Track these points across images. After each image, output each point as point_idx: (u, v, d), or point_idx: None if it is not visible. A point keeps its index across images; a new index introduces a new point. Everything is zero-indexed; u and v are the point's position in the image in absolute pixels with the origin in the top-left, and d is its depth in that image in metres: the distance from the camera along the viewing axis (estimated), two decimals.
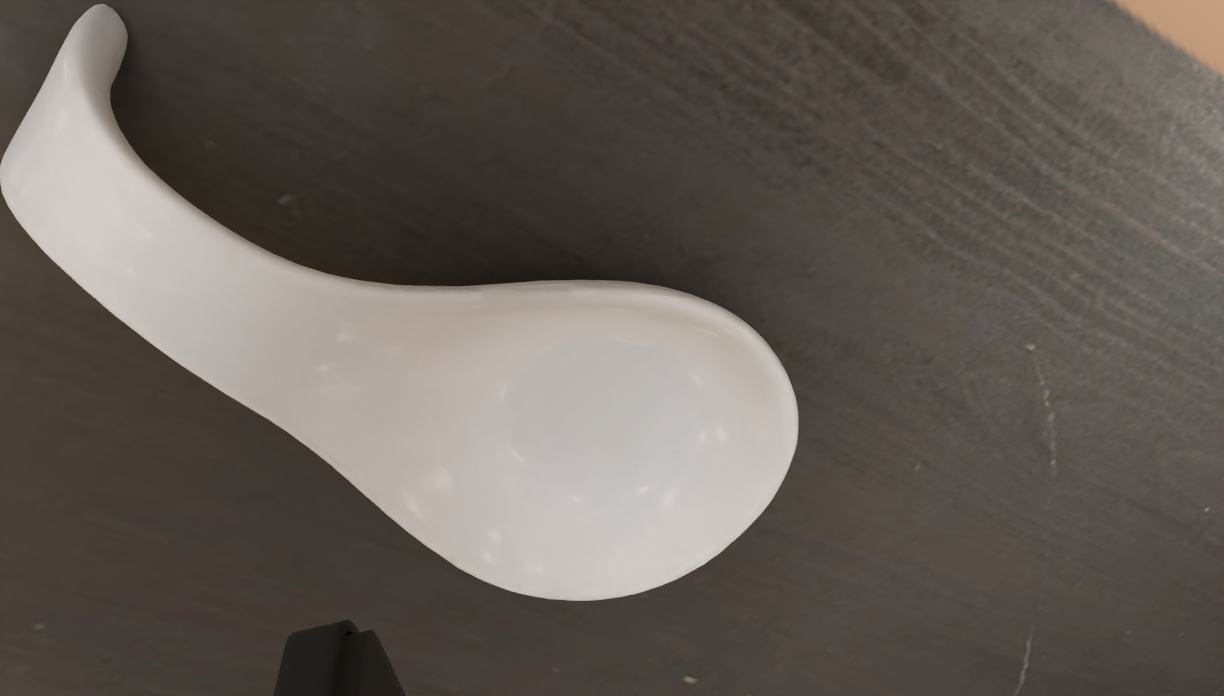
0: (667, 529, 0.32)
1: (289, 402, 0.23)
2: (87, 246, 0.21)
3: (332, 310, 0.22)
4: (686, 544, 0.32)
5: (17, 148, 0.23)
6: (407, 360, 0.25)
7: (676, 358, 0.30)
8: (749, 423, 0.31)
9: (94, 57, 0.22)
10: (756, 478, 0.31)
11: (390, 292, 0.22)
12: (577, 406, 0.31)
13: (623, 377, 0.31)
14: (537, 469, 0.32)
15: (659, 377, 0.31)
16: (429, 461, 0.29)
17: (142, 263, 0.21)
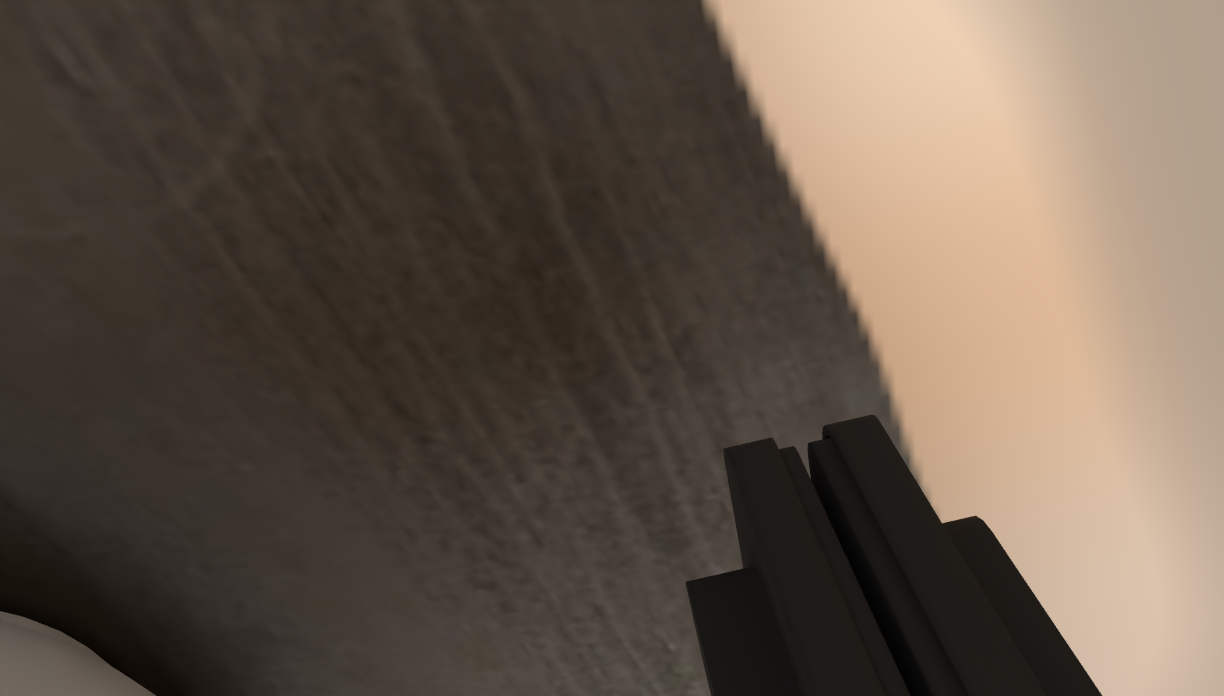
0: None
1: None
2: None
3: None
4: None
5: None
6: None
7: None
8: None
9: None
10: None
11: None
12: None
13: None
14: None
15: None
16: None
17: None
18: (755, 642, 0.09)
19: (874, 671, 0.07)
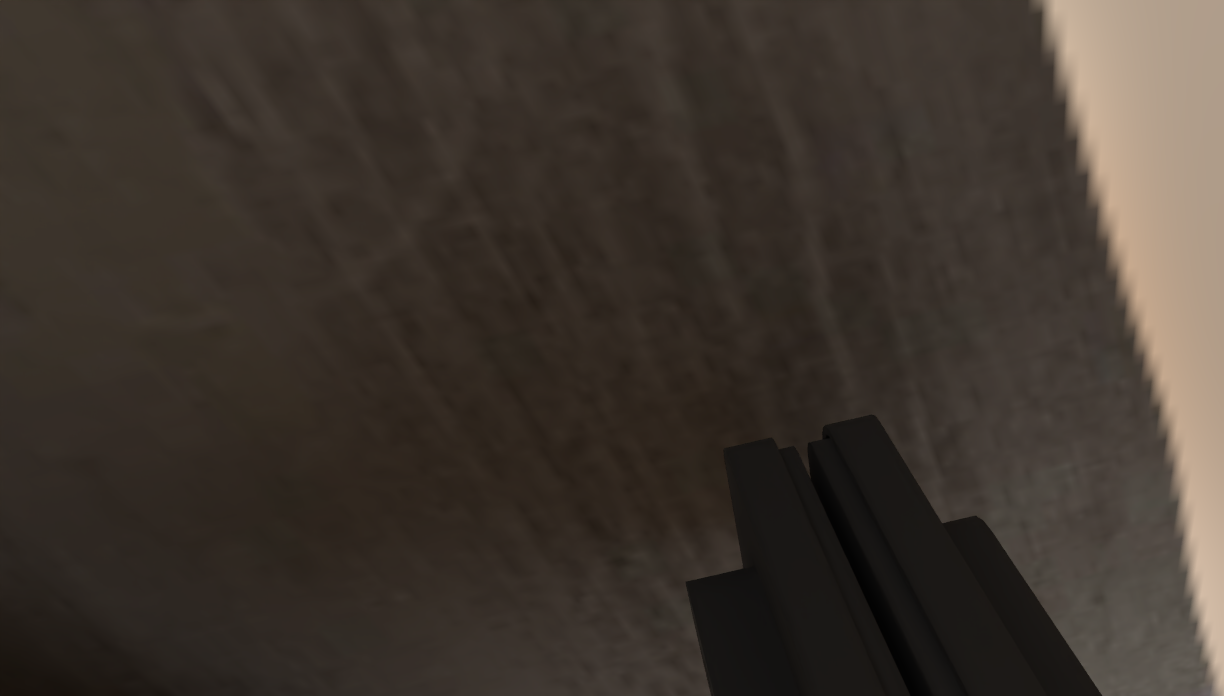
0: None
1: None
2: None
3: None
4: None
5: None
6: None
7: None
8: None
9: None
10: None
11: None
12: None
13: None
14: None
15: None
16: None
17: None
18: (755, 642, 0.09)
19: (873, 670, 0.07)
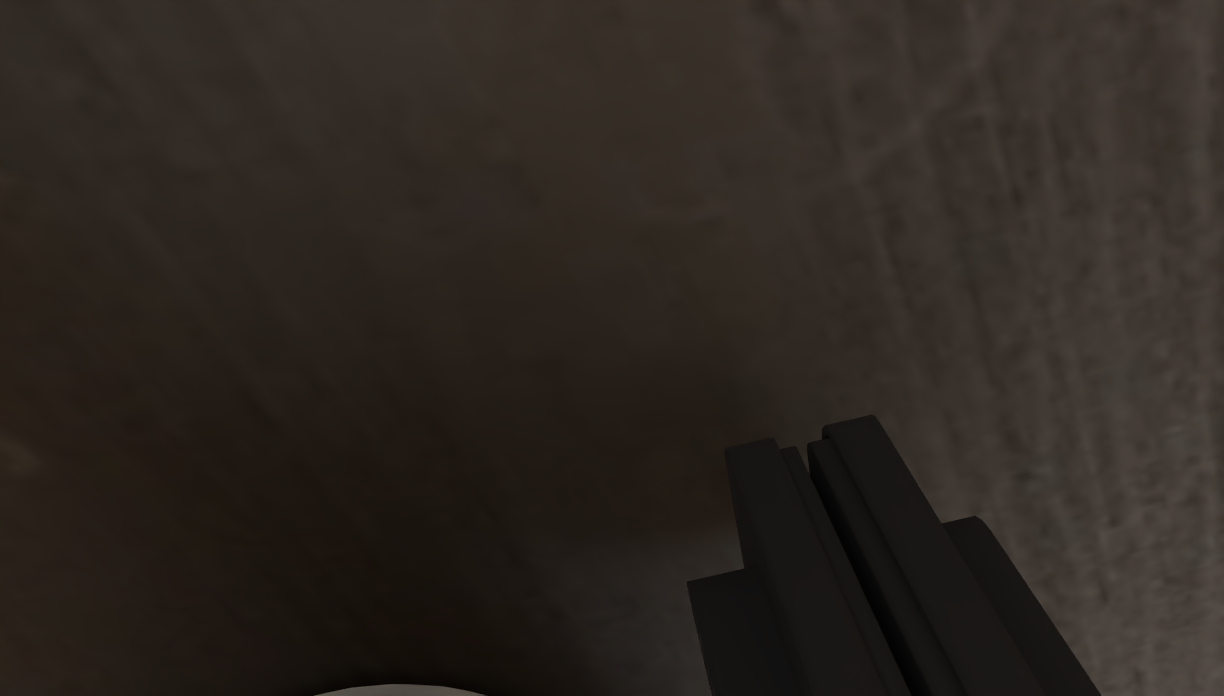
0: None
1: None
2: None
3: None
4: None
5: None
6: None
7: None
8: None
9: None
10: None
11: None
12: None
13: None
14: None
15: None
16: None
17: None
18: (756, 642, 0.09)
19: (876, 670, 0.07)
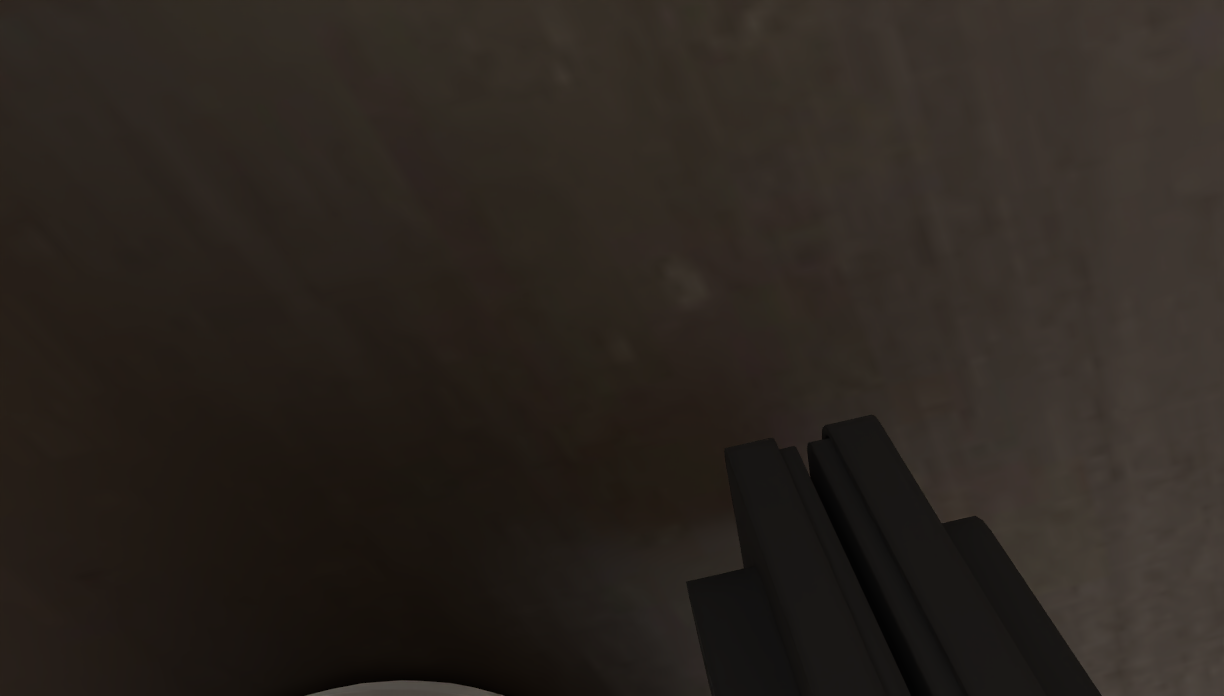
0: None
1: None
2: None
3: None
4: None
5: None
6: None
7: None
8: None
9: None
10: None
11: None
12: None
13: None
14: None
15: None
16: None
17: None
18: (756, 642, 0.09)
19: (874, 670, 0.07)
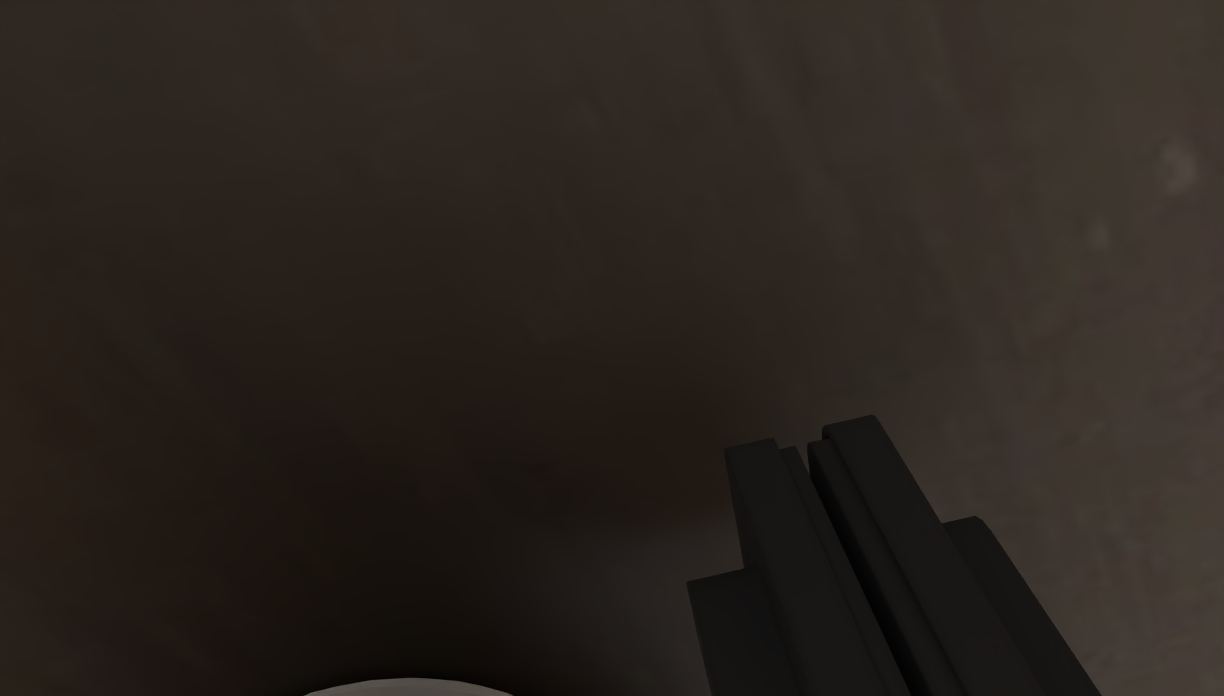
0: None
1: None
2: None
3: None
4: None
5: None
6: None
7: None
8: None
9: None
10: None
11: None
12: None
13: None
14: None
15: None
16: None
17: None
18: (756, 643, 0.09)
19: (874, 670, 0.07)
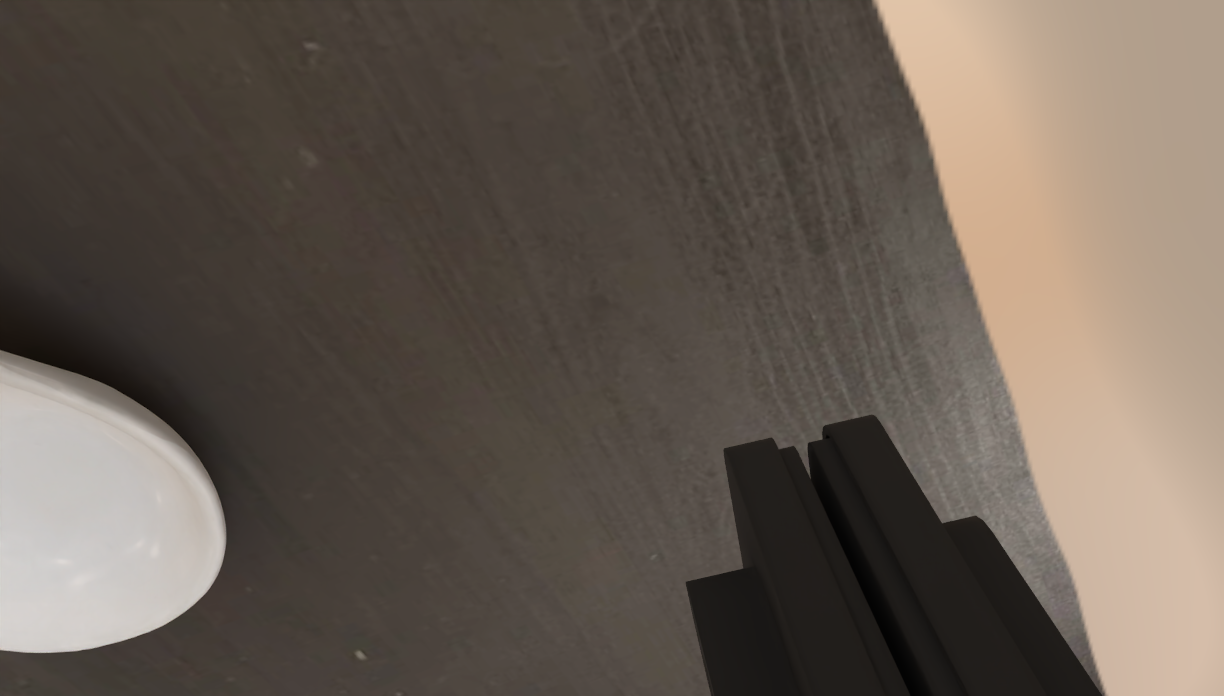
0: (62, 606, 0.34)
1: None
2: None
3: None
4: (69, 627, 0.34)
5: None
6: None
7: (149, 472, 0.33)
8: (180, 555, 0.34)
9: None
10: (160, 601, 0.34)
11: None
12: (40, 466, 0.33)
13: (96, 464, 0.33)
14: None
15: (127, 479, 0.34)
16: None
17: None
18: (755, 643, 0.09)
19: (873, 670, 0.07)
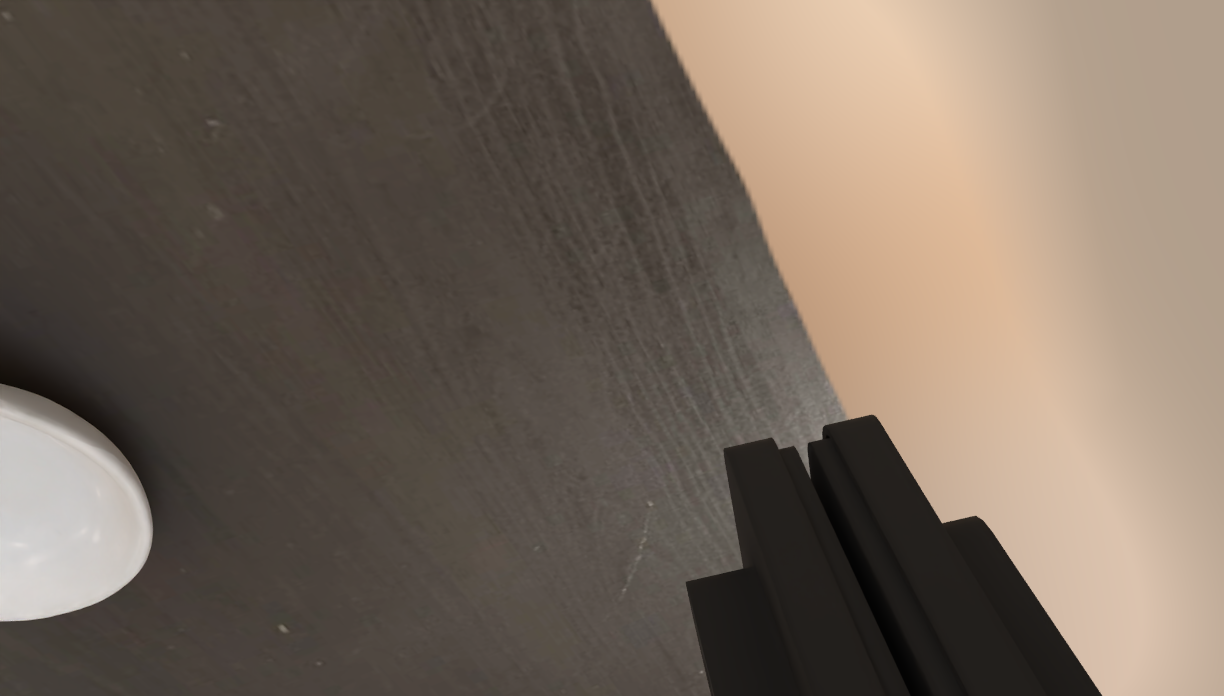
0: (18, 582, 0.41)
1: None
2: None
3: None
4: (24, 600, 0.41)
5: None
6: None
7: (89, 471, 0.40)
8: (116, 540, 0.40)
9: None
10: (100, 579, 0.41)
11: None
12: None
13: (45, 464, 0.40)
14: None
15: (72, 477, 0.40)
16: None
17: None
18: (755, 643, 0.09)
19: (874, 670, 0.07)
